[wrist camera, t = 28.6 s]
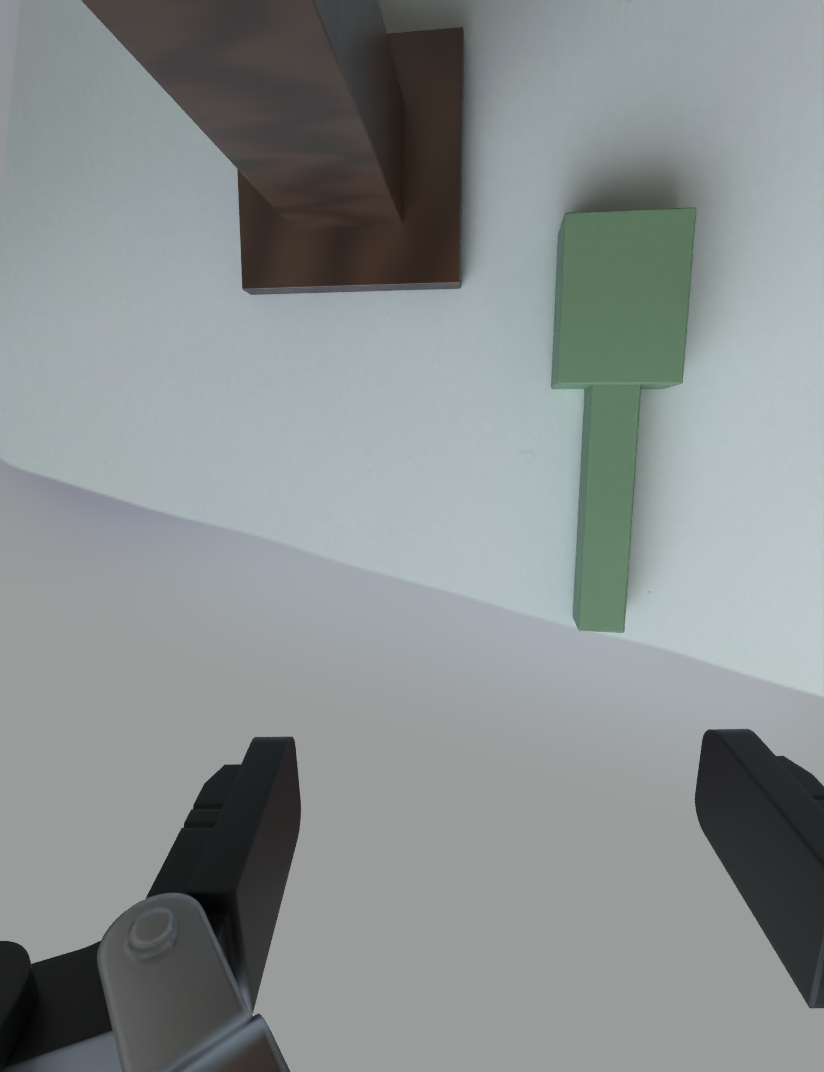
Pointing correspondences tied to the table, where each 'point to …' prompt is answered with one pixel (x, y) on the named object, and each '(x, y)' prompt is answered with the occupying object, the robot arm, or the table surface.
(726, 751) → the robot arm
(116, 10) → the stand
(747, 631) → the table surface
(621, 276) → the paddle
